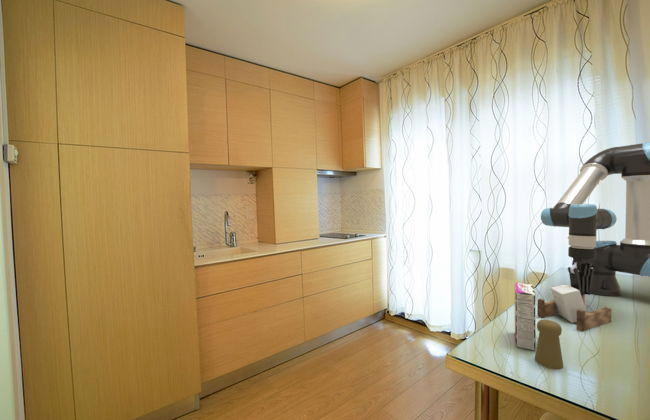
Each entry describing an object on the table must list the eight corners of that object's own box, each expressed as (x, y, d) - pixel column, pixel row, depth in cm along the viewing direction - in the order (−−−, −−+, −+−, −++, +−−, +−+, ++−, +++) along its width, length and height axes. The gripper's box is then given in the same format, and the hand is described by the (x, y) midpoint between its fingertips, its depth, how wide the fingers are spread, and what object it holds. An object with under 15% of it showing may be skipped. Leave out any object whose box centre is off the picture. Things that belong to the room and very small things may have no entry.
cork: (529, 357, 80) (529, 317, 79) (549, 355, 80) (550, 316, 80) (547, 370, 74) (548, 326, 73) (569, 368, 74) (570, 325, 74)
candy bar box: (514, 332, 95) (514, 282, 94) (533, 336, 92) (533, 284, 92) (514, 347, 85) (515, 291, 85) (536, 351, 83) (536, 294, 82)
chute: (566, 308, 114) (566, 292, 114) (611, 321, 102) (611, 303, 102) (537, 316, 107) (537, 299, 107) (582, 331, 94) (582, 311, 94)
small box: (590, 320, 99) (580, 290, 100) (571, 323, 101) (561, 294, 101) (576, 311, 107) (566, 283, 107) (559, 314, 108) (549, 287, 109)
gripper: (579, 244, 111) (578, 305, 112) (559, 246, 106) (558, 311, 107) (604, 247, 105) (603, 312, 105) (584, 250, 99) (583, 318, 100)
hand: (580, 311), depth 106 cm, fingers closed
